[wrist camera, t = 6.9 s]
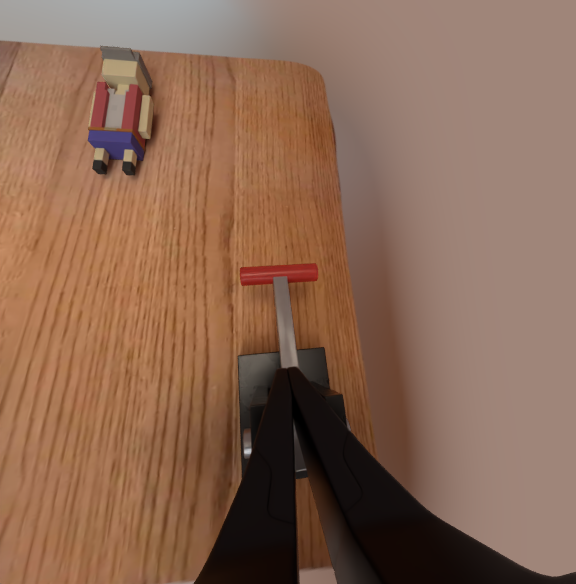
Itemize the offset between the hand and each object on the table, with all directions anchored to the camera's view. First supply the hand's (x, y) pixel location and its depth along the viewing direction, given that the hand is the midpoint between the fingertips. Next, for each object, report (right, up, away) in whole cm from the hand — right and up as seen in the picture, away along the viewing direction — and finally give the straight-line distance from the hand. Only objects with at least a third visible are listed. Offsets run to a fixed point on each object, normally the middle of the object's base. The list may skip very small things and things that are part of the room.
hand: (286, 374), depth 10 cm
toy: (-19, +23, +19) cm, 35 cm away
